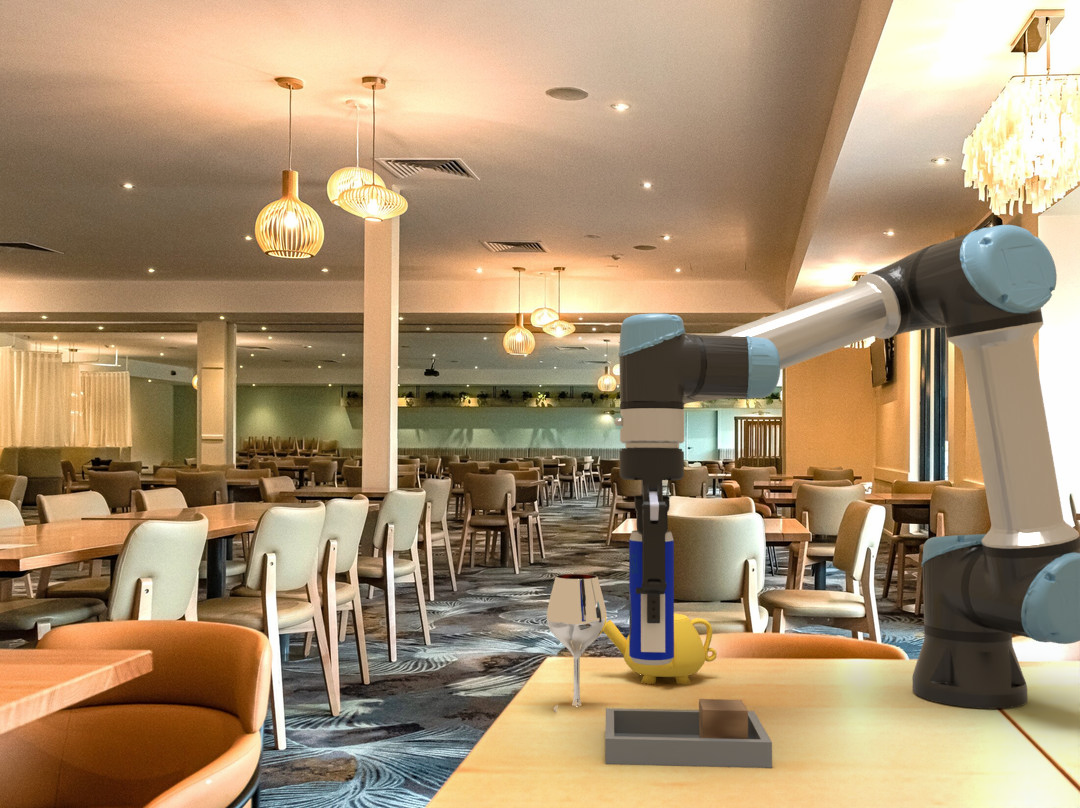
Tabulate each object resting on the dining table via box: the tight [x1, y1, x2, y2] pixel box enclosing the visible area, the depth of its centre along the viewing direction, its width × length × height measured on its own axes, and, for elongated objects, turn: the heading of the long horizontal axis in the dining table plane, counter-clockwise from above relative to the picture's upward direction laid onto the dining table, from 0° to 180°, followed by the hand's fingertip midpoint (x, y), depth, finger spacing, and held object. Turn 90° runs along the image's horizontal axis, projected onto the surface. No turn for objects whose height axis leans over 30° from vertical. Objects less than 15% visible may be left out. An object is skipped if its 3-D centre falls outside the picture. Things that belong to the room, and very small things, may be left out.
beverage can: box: [628, 529, 675, 665], centre depth 114 cm, size 5×5×15 cm
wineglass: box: [546, 573, 608, 713], centre depth 133 cm, size 8×8×18 cm
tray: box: [604, 707, 773, 769], centre depth 112 cm, size 18×13×4 cm
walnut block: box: [698, 698, 749, 739], centre depth 112 cm, size 5×5×5 cm
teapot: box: [602, 612, 717, 685], centre depth 152 cm, size 14×14×11 cm
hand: (651, 646), depth 113 cm, fingers closed on beverage can, 5 cm apart
